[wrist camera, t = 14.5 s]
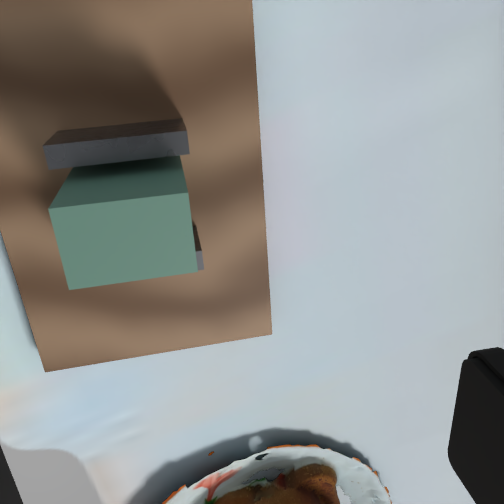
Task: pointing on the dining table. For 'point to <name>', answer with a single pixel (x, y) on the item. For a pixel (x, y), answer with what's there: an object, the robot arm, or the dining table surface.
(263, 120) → the dining table surface
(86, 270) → the green rectangular block
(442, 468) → the dining table surface
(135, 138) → the stand
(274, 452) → the food on plate
